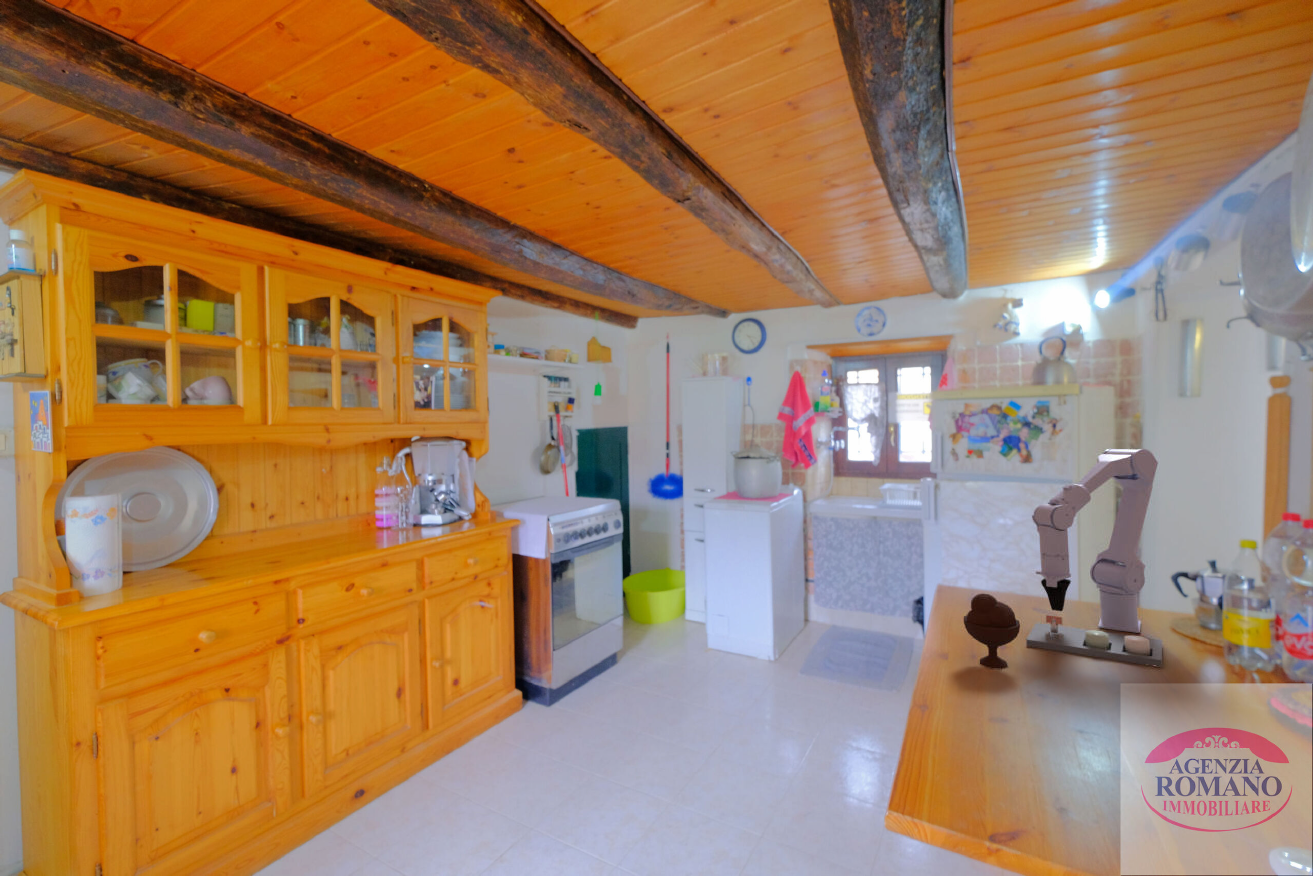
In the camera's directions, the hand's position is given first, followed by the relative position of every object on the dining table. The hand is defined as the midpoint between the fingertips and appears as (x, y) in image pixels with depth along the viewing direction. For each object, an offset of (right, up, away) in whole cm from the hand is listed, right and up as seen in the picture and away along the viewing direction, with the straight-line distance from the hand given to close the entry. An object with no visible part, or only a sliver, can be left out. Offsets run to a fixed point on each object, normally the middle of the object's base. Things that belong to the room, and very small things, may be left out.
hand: (1057, 610), depth 143 cm
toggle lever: (-5, -4, -6) cm, 8 cm away
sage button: (+2, -5, -11) cm, 12 cm away
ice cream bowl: (-24, -8, -14) cm, 29 cm away
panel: (+3, -6, -8) cm, 10 cm away
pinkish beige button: (+7, -5, -15) cm, 18 cm away
